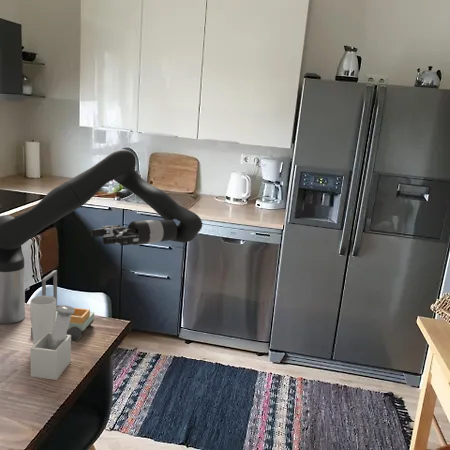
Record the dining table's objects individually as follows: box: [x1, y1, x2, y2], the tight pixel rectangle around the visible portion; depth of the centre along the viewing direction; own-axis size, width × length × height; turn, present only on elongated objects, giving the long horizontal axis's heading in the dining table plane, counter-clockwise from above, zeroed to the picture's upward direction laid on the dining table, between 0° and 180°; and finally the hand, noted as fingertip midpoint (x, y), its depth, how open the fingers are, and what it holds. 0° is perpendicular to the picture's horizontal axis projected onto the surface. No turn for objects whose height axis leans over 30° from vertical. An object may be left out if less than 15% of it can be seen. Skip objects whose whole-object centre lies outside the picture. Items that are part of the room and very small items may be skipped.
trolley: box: [41, 269, 95, 342], centre depth 142 cm, size 13×11×18 cm
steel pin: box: [49, 304, 76, 350], centre depth 123 cm, size 5×5×15 cm
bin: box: [30, 332, 72, 380], centre depth 122 cm, size 7×9×8 cm
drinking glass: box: [29, 295, 56, 346], centre depth 131 cm, size 7×7×15 cm
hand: (97, 236), depth 138 cm, fingers open, 8 cm apart
